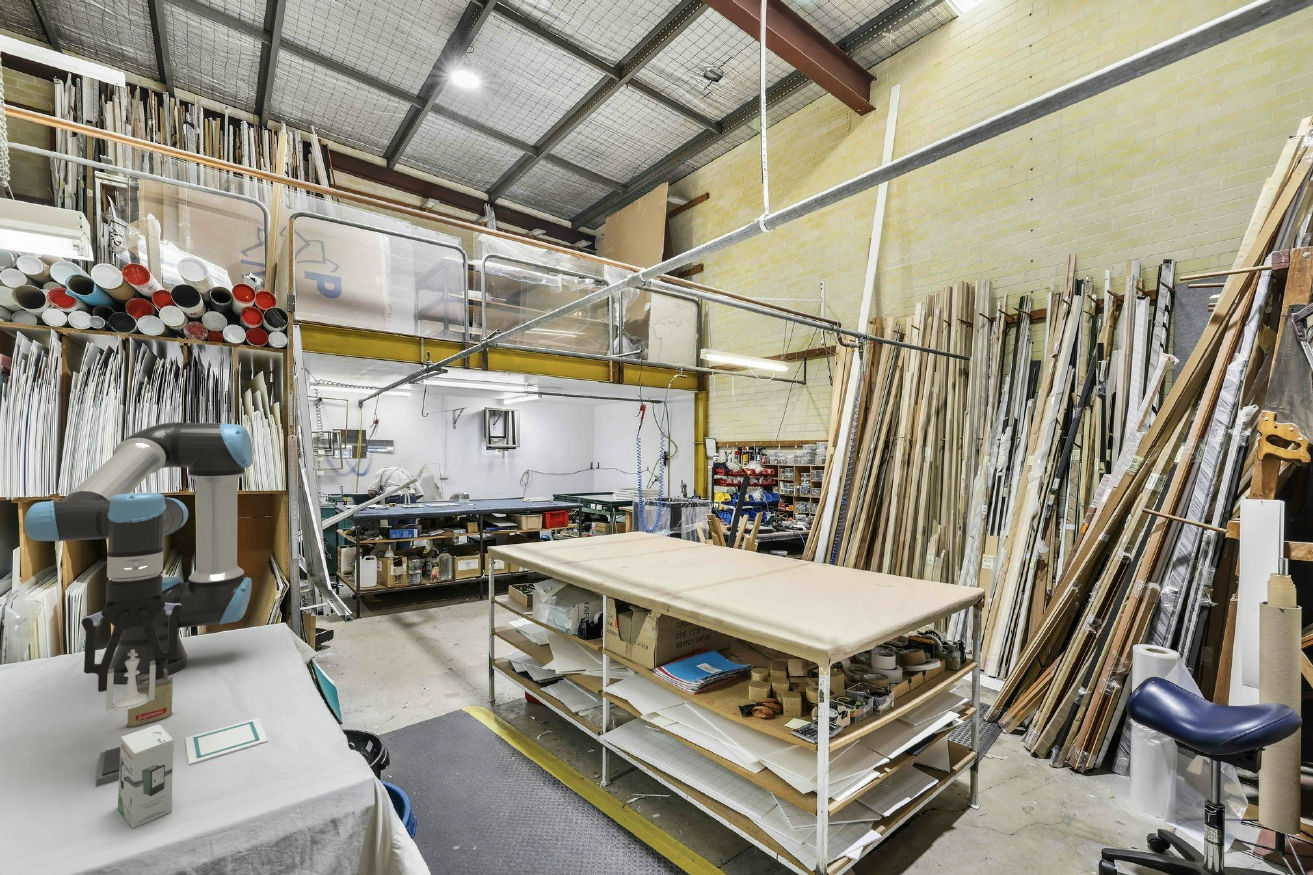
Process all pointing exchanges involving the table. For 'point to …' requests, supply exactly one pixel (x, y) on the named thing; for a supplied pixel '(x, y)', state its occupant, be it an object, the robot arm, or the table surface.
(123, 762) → the ink box
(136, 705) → the chess piece
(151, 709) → the lighter
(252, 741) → the print card
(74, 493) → the robot arm
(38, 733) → the table surface
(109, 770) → the ink pad
